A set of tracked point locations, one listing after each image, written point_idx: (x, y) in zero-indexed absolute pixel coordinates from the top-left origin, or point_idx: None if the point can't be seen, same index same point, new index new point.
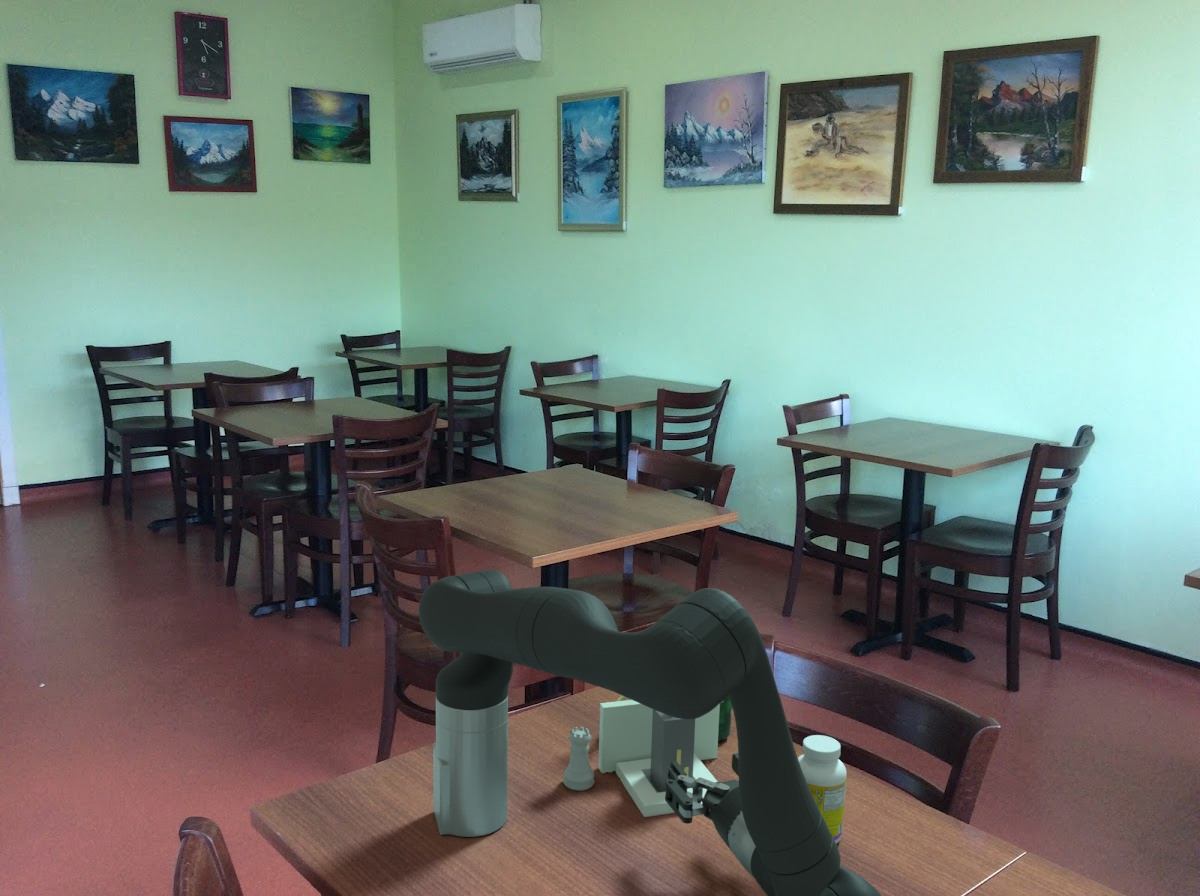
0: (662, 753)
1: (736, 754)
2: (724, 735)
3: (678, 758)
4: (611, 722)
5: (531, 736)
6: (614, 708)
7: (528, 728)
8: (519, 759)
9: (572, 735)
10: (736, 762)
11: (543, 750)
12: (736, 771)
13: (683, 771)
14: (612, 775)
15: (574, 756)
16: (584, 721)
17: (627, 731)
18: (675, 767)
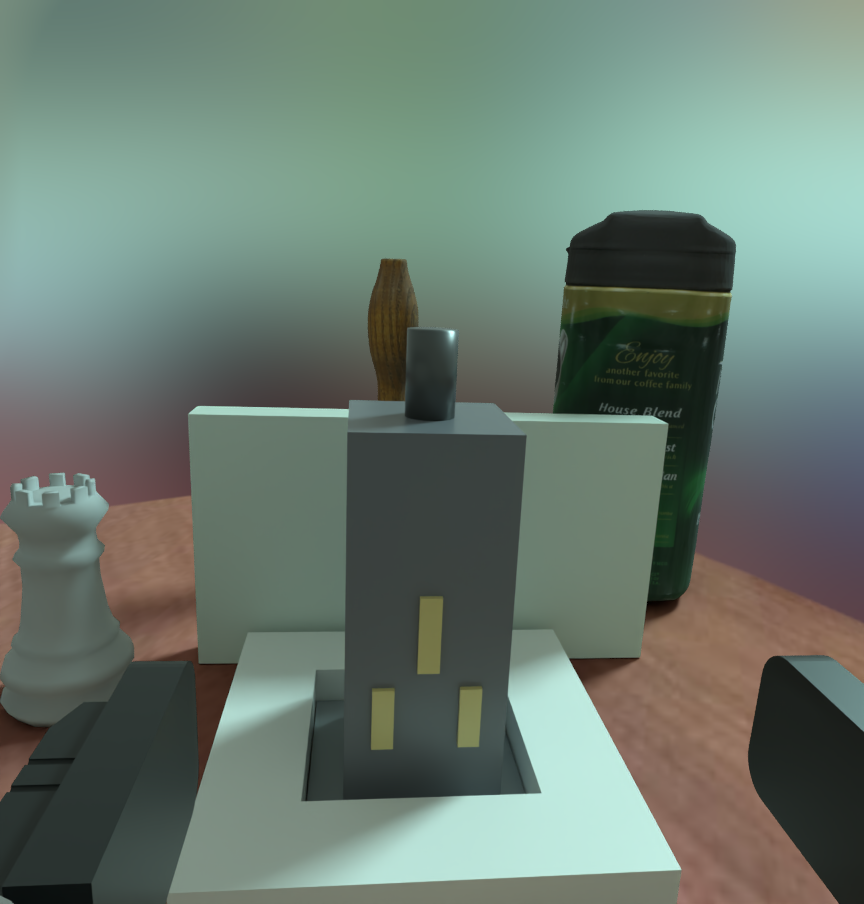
0: (345, 607)
1: (812, 663)
2: (671, 588)
3: (427, 641)
4: (225, 477)
5: (122, 539)
6: (235, 422)
7: (139, 522)
8: (2, 589)
9: (12, 496)
10: (816, 744)
11: (105, 574)
12: (807, 831)
13: (105, 816)
14: (229, 676)
15: (24, 584)
16: None
17: (293, 520)
18: (89, 734)
